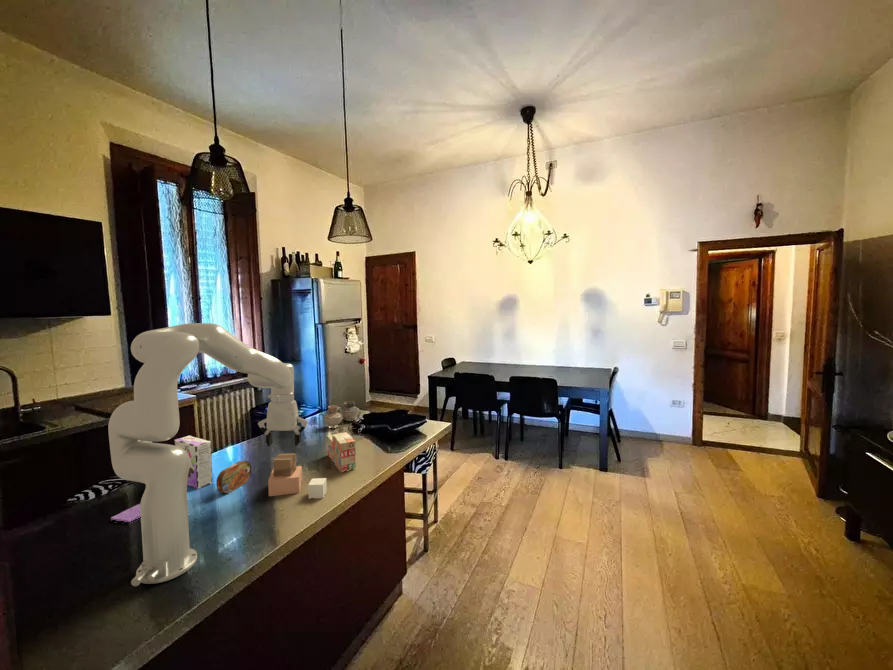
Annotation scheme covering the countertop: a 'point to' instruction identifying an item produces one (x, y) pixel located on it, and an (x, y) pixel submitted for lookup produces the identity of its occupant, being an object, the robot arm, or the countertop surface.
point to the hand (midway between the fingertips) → (283, 444)
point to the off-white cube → (317, 488)
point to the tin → (233, 477)
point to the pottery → (345, 412)
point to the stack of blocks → (342, 450)
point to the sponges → (128, 514)
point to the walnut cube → (284, 464)
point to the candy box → (197, 460)
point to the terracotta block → (285, 483)
